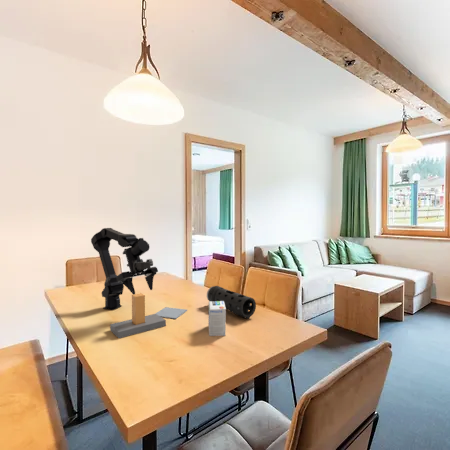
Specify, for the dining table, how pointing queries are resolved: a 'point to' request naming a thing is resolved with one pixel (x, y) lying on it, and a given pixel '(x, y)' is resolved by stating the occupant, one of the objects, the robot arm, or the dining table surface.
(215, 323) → the light bulb box
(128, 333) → the grey square-hole plate
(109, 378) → the dining table surface
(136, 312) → the plug
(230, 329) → the dining table surface
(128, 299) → the dining table surface
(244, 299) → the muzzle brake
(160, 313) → the mat
